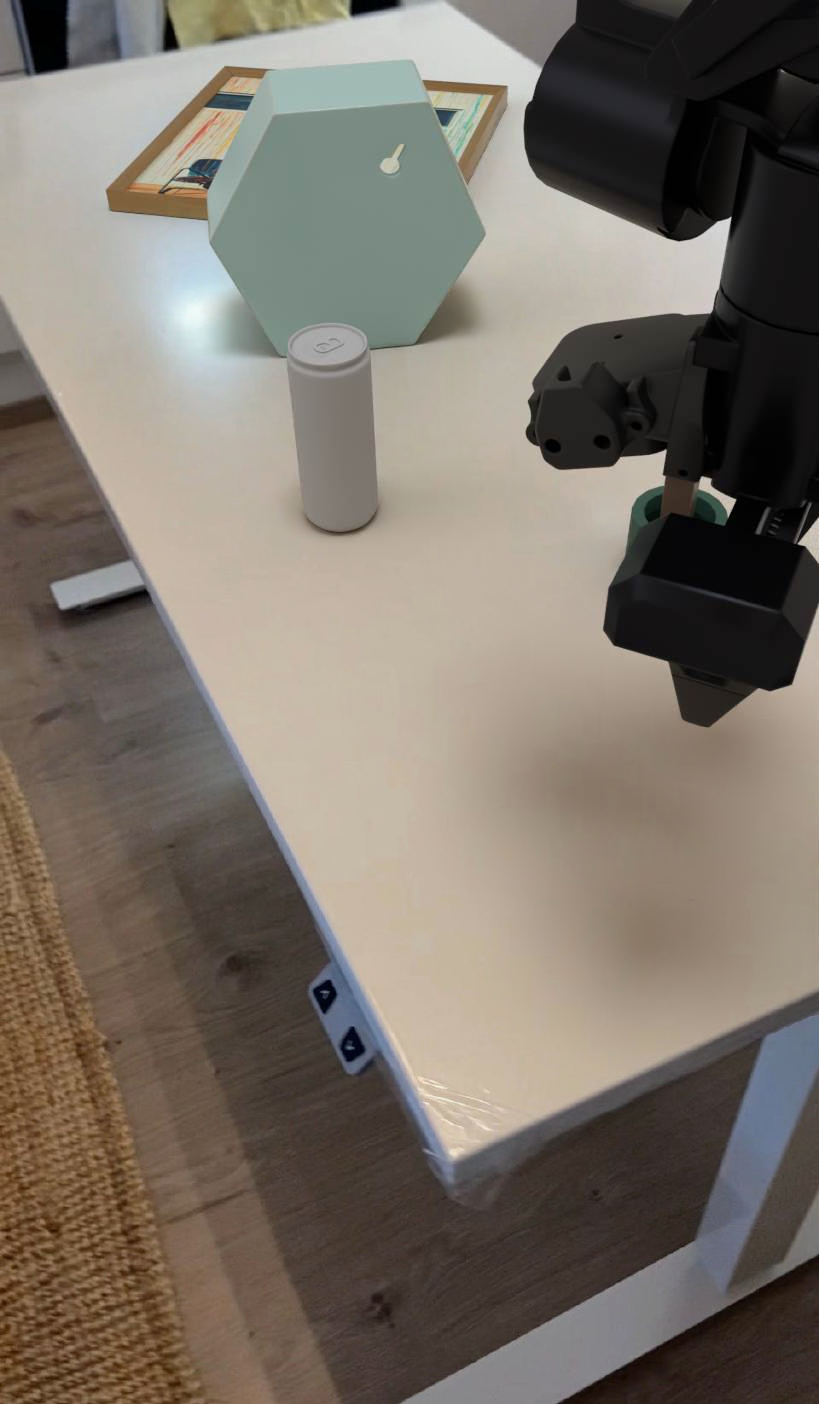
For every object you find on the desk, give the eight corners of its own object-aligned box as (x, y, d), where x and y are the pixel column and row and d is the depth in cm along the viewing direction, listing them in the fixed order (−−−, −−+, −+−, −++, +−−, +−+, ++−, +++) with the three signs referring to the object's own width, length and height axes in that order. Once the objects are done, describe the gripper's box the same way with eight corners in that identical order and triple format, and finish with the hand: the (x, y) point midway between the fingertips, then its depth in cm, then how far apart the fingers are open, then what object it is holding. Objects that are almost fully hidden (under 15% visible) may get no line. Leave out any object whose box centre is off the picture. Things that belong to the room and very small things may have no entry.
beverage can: (288, 510, 76) (268, 341, 68) (348, 479, 78) (335, 312, 70) (334, 546, 74) (319, 376, 65) (394, 514, 76) (387, 344, 67)
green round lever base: (725, 557, 72) (738, 497, 69) (700, 613, 69) (713, 553, 66) (639, 535, 74) (648, 475, 71) (611, 588, 71) (619, 529, 67)
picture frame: (105, 189, 105) (224, 65, 125) (109, 210, 107) (227, 84, 126) (438, 220, 100) (507, 85, 119) (438, 242, 101) (507, 105, 121)
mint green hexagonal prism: (366, 349, 98) (509, 120, 86) (378, 401, 93) (532, 164, 81) (174, 257, 90) (304, -9, 78) (175, 308, 85) (314, 30, 73)
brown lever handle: (691, 551, 71) (719, 399, 59) (681, 577, 70) (707, 428, 59) (659, 542, 71) (680, 389, 60) (648, 568, 70) (667, 418, 59)
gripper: (652, 136, 45) (611, 472, 57) (457, 384, 34) (455, 742, 45) (958, 183, 42) (849, 531, 53) (855, 477, 31) (744, 839, 42)
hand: (727, 645), depth 49 cm, fingers open, 9 cm apart
